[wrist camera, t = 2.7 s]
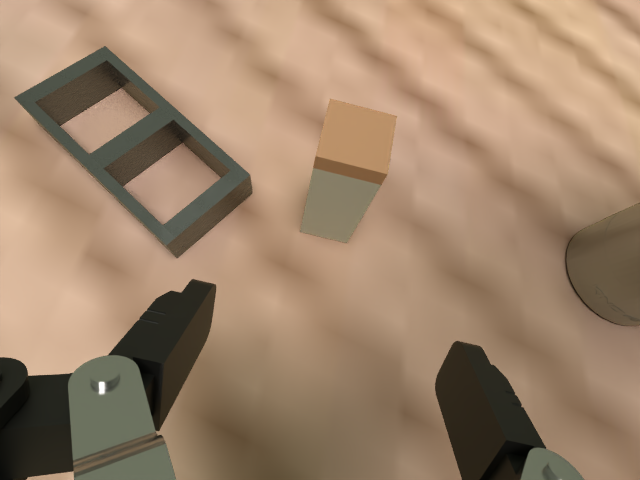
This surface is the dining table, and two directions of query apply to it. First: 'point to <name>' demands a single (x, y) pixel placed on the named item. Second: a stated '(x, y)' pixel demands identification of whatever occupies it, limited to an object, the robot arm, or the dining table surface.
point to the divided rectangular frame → (137, 144)
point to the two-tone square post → (347, 169)
